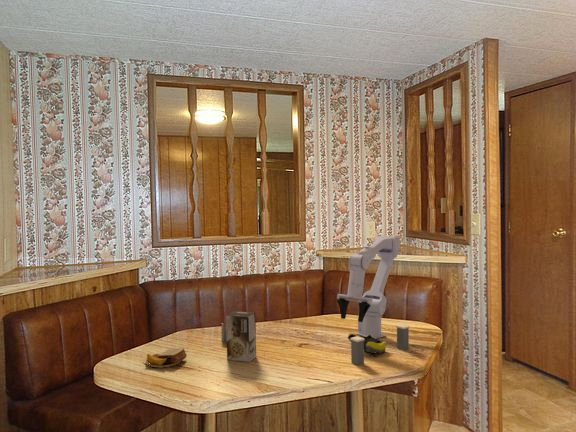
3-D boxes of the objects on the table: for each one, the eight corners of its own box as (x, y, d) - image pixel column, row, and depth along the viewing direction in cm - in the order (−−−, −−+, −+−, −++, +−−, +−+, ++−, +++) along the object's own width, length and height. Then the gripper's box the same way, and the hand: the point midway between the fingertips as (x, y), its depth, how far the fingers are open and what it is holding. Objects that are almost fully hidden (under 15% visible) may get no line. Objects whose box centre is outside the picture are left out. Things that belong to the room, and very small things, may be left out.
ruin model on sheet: (247, 337, 181) (247, 314, 180) (250, 339, 178) (250, 316, 178) (221, 341, 176) (221, 317, 176) (223, 343, 173) (223, 319, 173)
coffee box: (256, 356, 157) (256, 312, 156) (249, 362, 151) (249, 316, 150) (234, 353, 160) (233, 310, 159) (226, 359, 154) (225, 314, 153)
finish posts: (350, 362, 149) (350, 338, 149) (402, 346, 166) (402, 324, 165) (357, 365, 147) (357, 340, 146) (409, 348, 163) (409, 326, 163)
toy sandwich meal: (162, 354, 161) (162, 342, 160) (192, 360, 155) (192, 346, 155) (137, 366, 149) (137, 352, 149) (168, 372, 143) (168, 358, 143)
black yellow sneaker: (369, 359, 153) (391, 354, 158) (369, 343, 153) (391, 339, 157) (345, 346, 166) (366, 342, 171) (345, 332, 166) (366, 329, 171)
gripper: (334, 281, 170) (330, 316, 168) (367, 285, 161) (363, 322, 159) (344, 283, 176) (339, 317, 173) (376, 287, 167) (372, 323, 164)
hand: (351, 320), depth 166 cm, fingers open, 7 cm apart
